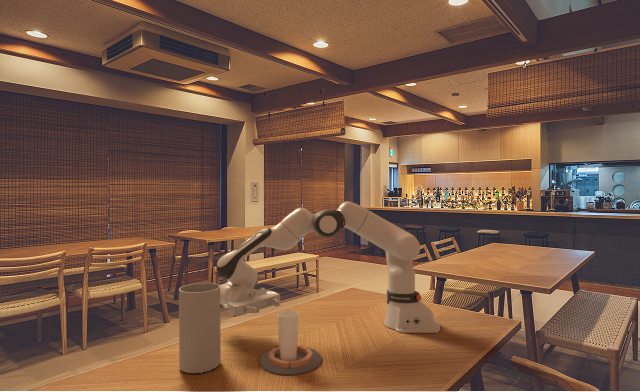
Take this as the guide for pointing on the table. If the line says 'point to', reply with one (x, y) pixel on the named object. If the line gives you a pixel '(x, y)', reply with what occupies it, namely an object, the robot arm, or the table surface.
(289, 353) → the drinking glass
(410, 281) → the robot arm
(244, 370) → the table surface
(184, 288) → the cylinder vase
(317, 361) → the round tray
